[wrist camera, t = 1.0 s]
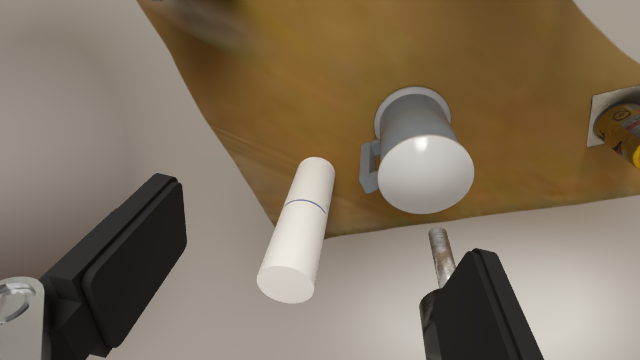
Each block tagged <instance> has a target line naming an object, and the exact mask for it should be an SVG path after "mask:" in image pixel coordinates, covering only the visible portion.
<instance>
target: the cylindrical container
mask: <svg viewBox="0 0 640 360" xmlns="http://www.w3.org/2000/svg"><path fill="white" fill-rule="evenodd" d="M334 180H335V170H334V168H333V166H332V165H331V164H330V163H329V162H328V161H327V160H325V159H322V158H319V157H310V158H307V159H305V160H303V161H302V162H301V163H300V165H299V167H298V169H297V172H296V175H295V177H294V180H293V183H292V185H291V188H290V191H289V193H288V196H287V199H286V201H285V204H284V207H283V209H282V212H281V215H280V217H279V220H278V223H277V225H276V228H275V231H274V233H273V236H272V239H271V242H270V244H269V247H268V249H267V252H266V254H265V257H264V260H263V263H262V265H261V268H260V270H259V273H258V276H257V284H258V286H259V288H260V289H261V291H262V292H263V293H265V294H266V295H267V296H269V297H270V298H272V299H275V300H277V301H280V302H284V303H300V302H304V301H306V300H308V299H309V298H310V297H311V296H312V295H313V293H314V288H315V283H316V277H317V272H318V266H319V261H320V256H321V250H322V245H323V240H324V234H325V229H326V223H327V218H328V212H329V207H330V202H331V196H332V191H333V185H334Z"/></svg>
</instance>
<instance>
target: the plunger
mask: <svg viewBox="0 0 640 360" xmlns="http://www.w3.org/2000/svg"><path fill="white" fill-rule="evenodd" d="M429 240H430V244H431V249H432V254H433V259H434V264H435V269H436V274H437V279H438V284H439V289H436V290H434V291H432V292H430V293H429V294H427V295H426V296H425V297H424V298H423V299H422V300H421V302H420V306H419V307H420V308H419V309H420V316H421V324H422V331H423V339H424V346H425V353H426V360H442V358H441V352H440V347H439V341H438V336H437V330H436V325H435V319H434V314H433V303H434V300H435V298H436V297H437V295H438V294H439V292H440V291H441V289H442V288H443V286H444V285H445V283H446V282H447V280H448V279H449V277H450V276H451V275H452V273H453V272H454V270H455V269H456V266H455V262H454V258H453V255H452V251H451V247H450V243H449V240H448V236H447V233H446V230H445V229H443V228H433V229H431V230H430V231H429Z"/></svg>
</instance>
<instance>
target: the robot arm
mask: <svg viewBox="0 0 640 360" xmlns="http://www.w3.org/2000/svg"><path fill="white" fill-rule="evenodd" d="M186 244H187V236H186V225H185V213H184V203H183V191H182V185H181V183H178V181H177V179H176V178H175V177H172V176H168V175H164V174H159V173H156V174H154V175H153V176H152V177H151V178H150V179H149V180H148V181H147V182H146V183H144V184H143V185H142V186H141V187H140V188H139V189H138V190H137V191H136V192H135V193H134V194H133V195H132V196H130V197H129V198H128V199H127V200H126V201H125V202H124V203H123V204H122V205H121V206H120V207H119V208H117V209H115V210H114V211H113V212H111V213H110V214H109V215H108V216H107V217H106V218H105V219H104V220H103V221H102V222H101V223H99V224H98V225H97V226H96V227H95V228H94V229H93V230H92V231H91V232H90V233H89V234H87V235H86V236H85V237H84V238H83V239H82V240H81V241H80V242H79V243H78V244H77V245H76V246H75V247H73V248H72V249H71V250H70V251H69V252H68V253H67V254H66V255H65V256H64V257H63V258H61V259H60V260H59V261H58V262H57V263H56V264H55V265H54V266H53V267H52V268H51V269H50V270H48V271H47V272H46V273H45V274H44V275H43V276H42V277H41V278H40V279H39V280H37V279H33V278H31V277H14V278H8V279H4V280H1V281H0V360H86V358H87V357H88V356H89V354H92V355H96V356H100V357H105V358H106V357H107V355H108V354H109V352H110V351H111V349H112V348H117V347H118V346H119V345H120V344H121V343H122V342H123V341H124V339H125V338H126V336H127V335H128V333H129V332H130V330H131V329H132V327H133V326H134V324H135V323H136V321H137V320H138V318H139V317H140V315H141V314H142V312H143V311H144V309H145V308H146V306H147V305H148V303H149V302H150V301H151V299H152V298H153V296H154V295H155V293H156V292H157V290H158V289H159V287H160V286H161V284H162V283H163V281H164V280H165V278H166V277H167V275H168V274H169V272H170V271H171V269H172V268H173V266H174V265H175V263H176V262H177V260H178V259H179V257H180V256H181V254H182V253H183V251H184V250H185V247H186ZM433 314H434V319H435V325H436V330H437V336H438V341H439V347H440V352H441V358H442V360H544V358H543V356H542V354H541V352H540V350H539V347H538V345H537V343H536V340H535V338H534V336H533V334H532V332H531V329H530V327H529V325H528V323H527V320H526V318H525V316H524V314H523V311H522V309H521V307H520V305H519V302H518V300H517V298H516V296H515V293H514V291H513V289H512V287H511V284H510V282H509V280H508V278H507V275H506V273H505V271H504V269H503V266H502V264H501V262H500V260H499V257H498V256H497V254H496V253H494V252H490V251H486V250H482V249H477V248H475V249H473V250H472V251H468V252H467V253H466V254H465V255H464V257H463V258H462V260H461V261H460V263H459V264H458V266H457V267H456V269H455V270H454V272H453V273H452V275H451V276H450V277H449V279H448V280H447V282H446V283H445V285H444V286H443V288H442V289H441V291H440V292H439V294H438V295H437V297H436V298H435V300H434V303H433Z"/></svg>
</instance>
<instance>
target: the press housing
mask: <svg viewBox="0 0 640 360" xmlns="http://www.w3.org/2000/svg"><path fill="white" fill-rule="evenodd" d="M450 124H451V114H450V110H449V108H448V105H447V103H446V102H445V100H444V99H443V97H442V96H441V95H440V94H438V93H437V92H436V91H434V90H432V89H430V88H427V87H423V86H408V87H404V88H401V89H398V90H396V91H394V92H393V93H391V94H390V95H388V96H387V97H386V98H385V99H384V100H383V101H382V103H381V104H380V105H379V107H378V109H377V112H376V115H375V120H374V128H375V134H376V137H377V140H375V141H372V142H367V143H364V144H362V146H361V160H360V175H359V181H360V183H361V185H362V187H363V189H364V190H365V192H366V194H367V193H370V192H374V191H376V190H377V189H380V191H381V193H382V195H383V197H384V198H385V199H386V200H387V201H388V202H389V203H390V204H391V205H393V206H394V207H396V208H398V209H400V210H402V211H405V212H409V213H414V214H429V213H435V212H439V211H442V210H445V209H447V208H449V207H451V206H453V205H454V204H456V203H457V202H459V201H460V200H461V199H462V198H463V197H464V196H465V195H466V194H467V192H468V191H469V189H470V187H471V185H472V182H473V179H474V166H473V162H472V160H471V158H470V156H469V154H468V152H467V151H466V149H465V148H464V147H463V146H462V145H461V144H459V142H458V140H457V138H456V135H455V133H454V131H453V129H452V127H451V125H450ZM377 155H380V159H381V163H380V165H379V169H378V171H376V156H377Z"/></svg>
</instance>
